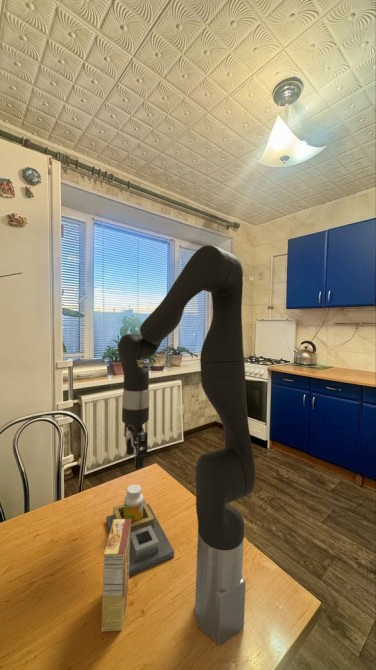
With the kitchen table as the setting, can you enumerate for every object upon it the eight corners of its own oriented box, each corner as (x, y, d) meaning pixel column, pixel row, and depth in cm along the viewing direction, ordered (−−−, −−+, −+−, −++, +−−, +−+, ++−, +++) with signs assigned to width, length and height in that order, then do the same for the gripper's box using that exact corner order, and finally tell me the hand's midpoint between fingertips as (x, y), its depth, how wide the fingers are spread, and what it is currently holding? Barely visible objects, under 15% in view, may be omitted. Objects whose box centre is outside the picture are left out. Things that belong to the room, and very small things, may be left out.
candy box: (110, 585, 57) (112, 518, 56) (129, 584, 57) (131, 517, 56) (100, 633, 48) (102, 554, 47) (123, 631, 48) (125, 553, 48)
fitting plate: (174, 557, 64) (174, 541, 64) (122, 579, 58) (122, 562, 58) (148, 508, 81) (148, 495, 81) (106, 521, 75) (106, 508, 75)
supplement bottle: (119, 526, 71) (120, 492, 71) (129, 513, 77) (130, 481, 76) (137, 531, 70) (138, 496, 70) (145, 517, 75) (146, 485, 75)
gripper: (157, 410, 68) (155, 470, 68) (140, 396, 80) (139, 447, 81) (129, 413, 64) (128, 477, 65) (116, 399, 77) (115, 452, 77)
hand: (134, 460), depth 73 cm, fingers open, 8 cm apart
